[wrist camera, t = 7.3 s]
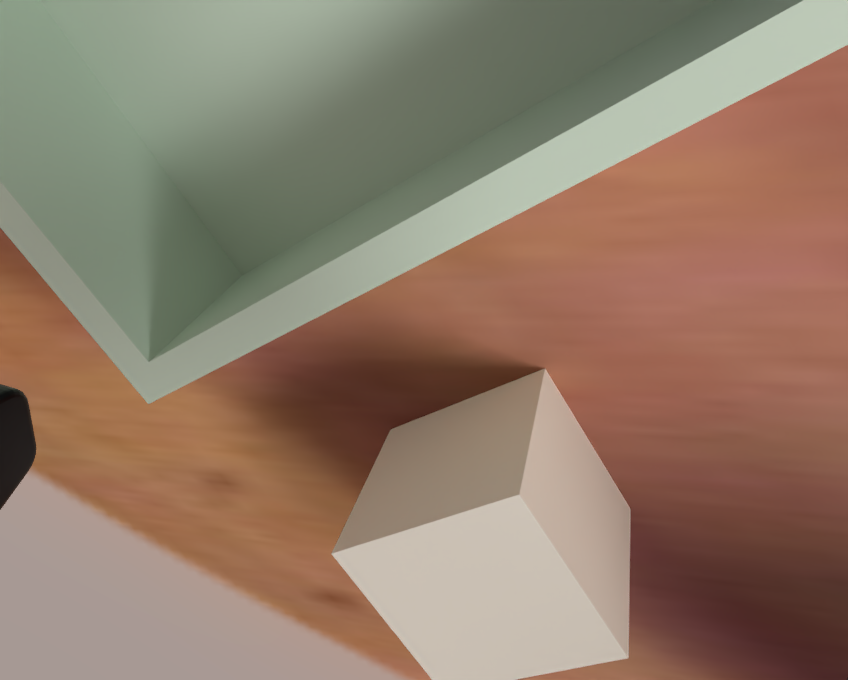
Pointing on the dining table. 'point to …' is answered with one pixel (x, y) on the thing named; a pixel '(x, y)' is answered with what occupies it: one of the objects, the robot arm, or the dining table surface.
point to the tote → (330, 142)
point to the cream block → (494, 539)
